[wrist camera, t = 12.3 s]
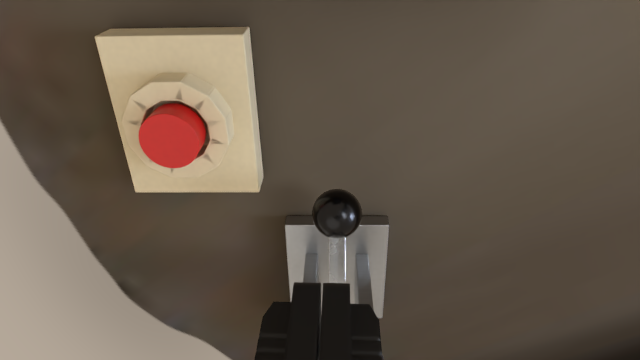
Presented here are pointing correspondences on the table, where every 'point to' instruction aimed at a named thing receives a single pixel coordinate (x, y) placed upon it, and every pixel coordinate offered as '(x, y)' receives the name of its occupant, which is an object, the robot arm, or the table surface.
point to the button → (172, 135)
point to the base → (361, 258)
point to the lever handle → (337, 227)
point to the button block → (187, 102)
